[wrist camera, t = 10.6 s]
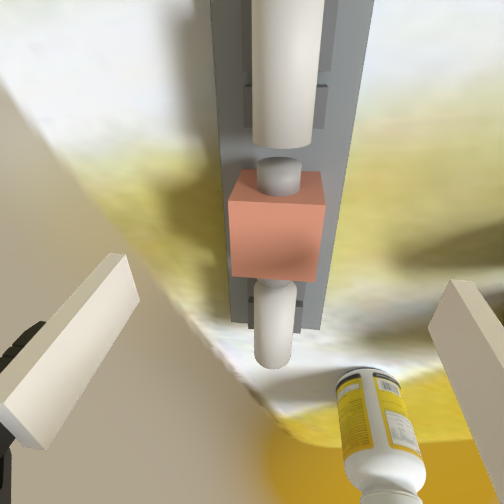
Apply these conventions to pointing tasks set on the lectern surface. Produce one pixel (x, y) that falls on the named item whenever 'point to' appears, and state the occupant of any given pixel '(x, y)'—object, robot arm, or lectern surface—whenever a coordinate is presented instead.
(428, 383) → the lectern surface
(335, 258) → the lectern surface
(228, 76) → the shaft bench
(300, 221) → the block
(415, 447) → the pill bottle
